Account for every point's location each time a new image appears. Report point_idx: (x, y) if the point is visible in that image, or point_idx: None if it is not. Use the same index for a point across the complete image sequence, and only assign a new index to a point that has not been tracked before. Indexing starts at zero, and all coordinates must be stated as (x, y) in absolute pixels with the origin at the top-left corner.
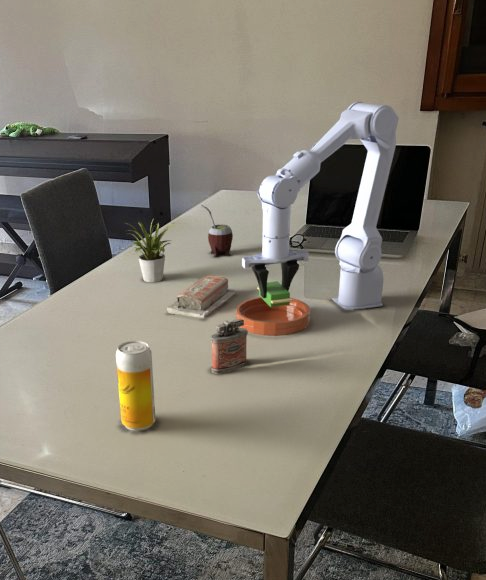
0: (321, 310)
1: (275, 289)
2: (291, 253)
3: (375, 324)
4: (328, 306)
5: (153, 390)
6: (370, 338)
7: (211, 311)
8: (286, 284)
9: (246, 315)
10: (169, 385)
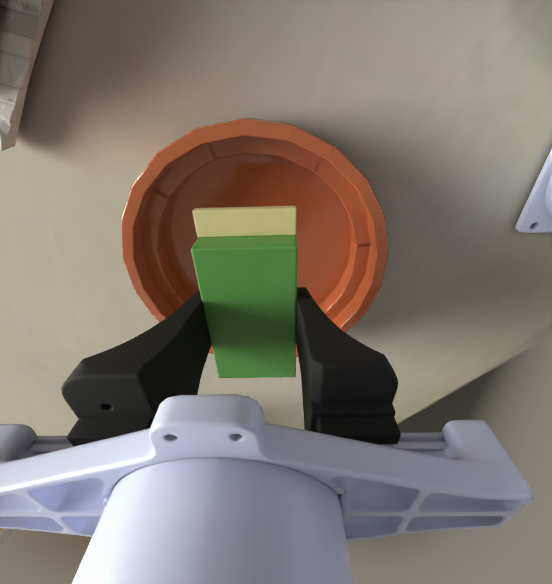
0: (457, 191)
1: (251, 337)
2: (369, 513)
3: (501, 325)
4: (508, 160)
5: (5, 539)
6: (430, 376)
7: (28, 78)
8: (299, 359)
9: (178, 189)
10: (32, 427)
